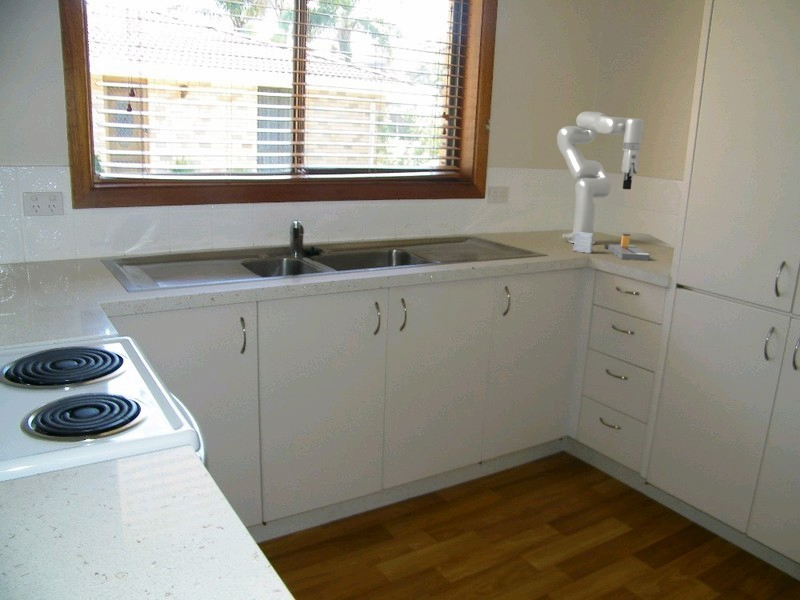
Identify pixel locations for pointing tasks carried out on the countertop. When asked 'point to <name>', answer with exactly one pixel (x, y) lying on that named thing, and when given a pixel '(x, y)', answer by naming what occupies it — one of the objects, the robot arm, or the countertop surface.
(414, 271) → the countertop surface
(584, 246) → the medicine box
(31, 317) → the countertop surface
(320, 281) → the countertop surface
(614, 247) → the panel
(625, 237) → the toggle
